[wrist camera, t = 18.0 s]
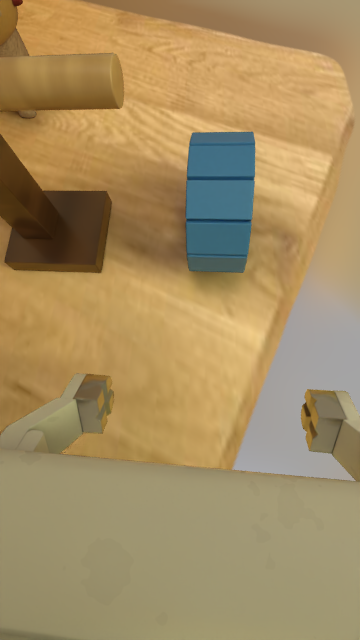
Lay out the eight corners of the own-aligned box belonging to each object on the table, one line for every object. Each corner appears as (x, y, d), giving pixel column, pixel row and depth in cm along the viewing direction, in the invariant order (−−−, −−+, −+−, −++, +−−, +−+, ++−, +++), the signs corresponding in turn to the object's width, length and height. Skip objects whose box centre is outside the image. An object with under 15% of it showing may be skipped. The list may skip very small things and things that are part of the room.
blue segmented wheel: (191, 288, 31) (182, 228, 21) (197, 193, 34) (192, 100, 24) (239, 289, 31) (254, 229, 21) (242, 193, 33) (255, 99, 24)
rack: (14, 270, 33) (-250, 72, 14) (29, 201, 35) (-182, -52, 16) (157, 274, 32) (77, 61, 13) (164, 202, 34) (105, -73, 15)
